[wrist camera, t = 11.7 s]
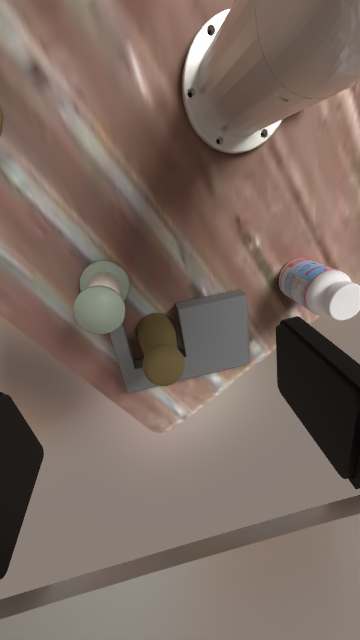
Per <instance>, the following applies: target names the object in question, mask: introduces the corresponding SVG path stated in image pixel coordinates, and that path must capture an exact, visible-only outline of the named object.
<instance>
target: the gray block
mask: <svg viewBox="0 0 360 640" xmlns="http://www.w3.org/2000/svg"><path fill="white" fill-rule="evenodd" d="M176 309H177V315H178V320H179V326H180V332H181V337H182V343H183V349H181V350H179V351H180V352H181V353H182V355H183V357H184V361H185V369H184V372H183V374H182V376H181V377H180V379H179V380H178V381H180V380H184V379H188V378H193V377H197V376H201V375H205V374H209V373H213V372H217V371H221V370H225V369H229V368H233V367H237V366H241V365H245V364H249V363H250V353H249V334H248V315H247V296H246V294H245V293H244V292H242V291H241V290H240V289H239V290H234V291H230V292H225V293H221V294H216V295H211V296H207V297H202V298H198V299H193V300H188V301H184V302H179V303H176ZM109 334H110V337H111V340H112V343H113V347H114V350H115V353H116V356H117V360H118V363H119V366H120V369H121V373H122V376H123V379H124V382H125V386H126V389H127V392H128V393H132V392H136V391H140V390H144V389H148V388H152V387H156V386H159V385H155V384H153V383H152V382H150V381H149V380H148V379H147V378H146V377H145V375H144V372H143V367H142V366H143V359H144V358H143V359H138V360H134V358H133V354H132V351H131V347H130V343H129V340H128V336H127V332H126V329H125V325H124V322H122V324H121V325H120V326H119V327H118V328H117V329H115V330H114V331H112V332H110V333H109Z"/></svg>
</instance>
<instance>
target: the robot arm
mask: <svg viewBox="0 0 360 640" xmlns="http://www.w3.org/2000/svg"><path fill="white" fill-rule="evenodd" d="M207 32H210V34H211V36H209V35H208V33H207ZM358 82H360V0H235V2H234V3H233V5H232V7H231V8H230V9H226V10H223V11H221V12H219V13H218V14H216V15H214V16H213V17H212V18H210V19H209V20H208V21H207V22H206V23H205V24H204V25H203V26H202V28H201V29H200V30H199V32H198V33H197V34H196V36H195V38H194V40H193V42H192V44H191V46H190V48H189V51H188V53H187V56H186V59H185V64H184V68H183V74H182V96H183V103H184V107H185V111H186V114H187V117H188V119H189V121H190V124H191V126H192V127H193V129H194V130H195V132H196V134H197V135H198V136H199V137H200V138H201V139H202V140H203V141H204V142H205V143H206V144H208V145H209V146H210V147H212V148H213V149H216V150H218V151H220V152H224V153H230V154H235V153H243V152H246V151H250V150H252V149H254V148H257V147H258V146H260V145H261V144H263V143H264V142H265V141H266V140H267V139H268V138H270V137H271V136H272V135H273V133H274V132H275V131H276V129H277V128H278V127H279V125H280V123H281V121H282V119H284V118H287V117H289V116H291V115H293V114H295V113H297V112H299V111H301V110H303V109H306V108H308V107H310V106H312V105H314V104H316V103H318V102H320V101H323V100H325V99H327V98H329V97H331V96H333V95H335V94H337V93H339V92H341V91H343V90H345V89H347V88H349V87H351V86H353V85H355V84H356V83H358ZM188 93H191V95H192V96H191V98H190V97H189V96H188ZM261 133H262V134H263V135H262V137H261ZM216 140H219V144H217V143H216ZM276 349H277V379H278V381H277V382H278V388H279V391H280V392H281V394H282V396H283V397H284V399H285V400H286V401H287V403H288V404H289V405H290V407H291V408H292V410H293V411H294V412H295V414H296V415H297V417H298V418H299V419H300V421H301V422H302V423H303V425H304V426H305V428H306V429H307V431H308V432H309V433H310V435H311V436H312V437H313V439H314V440H315V442H316V443H317V444H318V446H319V447H320V449H321V450H322V451H323V453H324V454H325V456H326V457H327V458H328V460H329V461H330V463H331V464H332V465H333V466H334V468H335V469H336V471H337V472H338V474H339V475H340V476H341V477H342V478H344V479H347V478H348V479H349V480H350V482H351V483H352V485H353V486H354V487H355V489H359V488H360V364H358V363H357V362H356V361H355V360H353V359H352V358H351V357H350V356H348V355H347V354H346V353H344V352H343V351H342V350H341V349H339V348H338V347H337V346H336V345H334V344H333V343H332V342H331V341H329V340H328V339H327V338H325V337H324V336H323V335H322V334H320V333H319V332H318V331H316V330H315V329H314V328H313V327H311V326H310V325H309V324H308V323H306V322H305V321H304V320H303V319H301V318H300V317H293V318H289V319H285V320H282V321H281V322H280V325H278V326H277V327H276ZM43 454H44V453H43V448H42V445H41V444H40V442H39V441H38V439H37V438H36V436H35V435H34V433H33V431H32V430H31V428H30V427H29V425H28V424H27V422H26V421H25V419H24V417H23V416H22V414H21V413H20V411H19V410H18V408H17V406H16V405H15V404H14V402H13V400H12V399H11V397H10V396H9V395H5V394H4V393H2V392H0V579H2V578H3V577H4V576H5V574H6V572H7V570H8V567H9V563H10V560H11V557H12V554H13V551H14V548H15V545H16V542H17V538H18V535H19V532H20V528H21V526H22V522H23V519H24V516H25V513H26V510H27V507H28V504H29V501H30V497H31V494H32V491H33V488H34V485H35V482H36V479H37V476H38V472H39V469H40V466H41V463H42V460H43ZM0 640H360V495H358V496H354V497H351V498H347V499H343V500H339V501H336V502H332V503H328V504H324V505H321V506H317V507H313V508H310V509H306V510H303V511H299V512H296V513H293V514H289V515H285V516H282V517H279V518H275V519H272V520H269V521H265V522H261V523H258V524H254V525H251V526H248V527H244V528H241V529H237V530H234V531H230V532H227V533H223V534H220V535H216V536H213V537H210V538H206V539H203V540H199V541H196V542H192V543H189V544H186V545H182V546H179V547H176V548H172V549H169V550H165V551H162V552H158V553H155V554H152V555H148V556H145V557H141V558H138V559H135V560H131V561H128V562H125V563H121V564H118V565H114V566H111V567H108V568H104V569H101V570H98V571H94V572H91V573H87V574H84V575H81V576H77V577H74V578H71V579H68V580H64V581H61V582H58V583H54V584H51V585H47V586H44V587H41V588H38V589H34V590H31V591H28V592H24V593H21V594H18V595H14V596H11V597H8V598H5V599H1V600H0Z"/></svg>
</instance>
